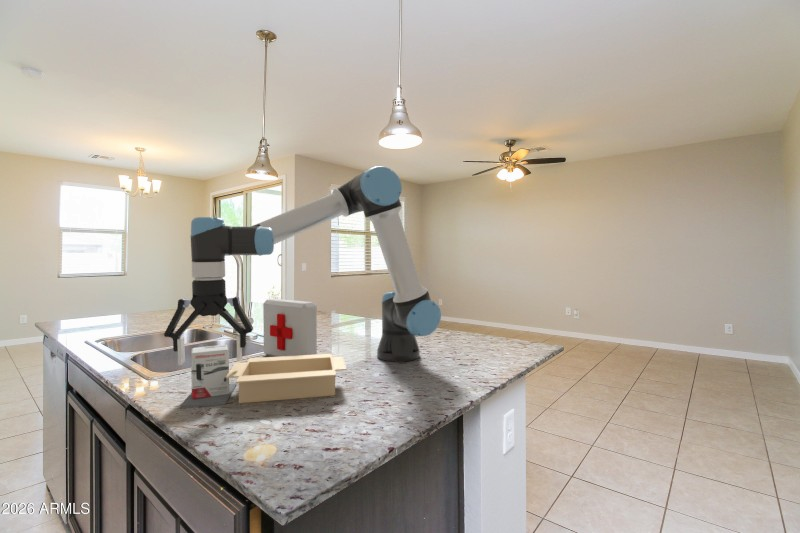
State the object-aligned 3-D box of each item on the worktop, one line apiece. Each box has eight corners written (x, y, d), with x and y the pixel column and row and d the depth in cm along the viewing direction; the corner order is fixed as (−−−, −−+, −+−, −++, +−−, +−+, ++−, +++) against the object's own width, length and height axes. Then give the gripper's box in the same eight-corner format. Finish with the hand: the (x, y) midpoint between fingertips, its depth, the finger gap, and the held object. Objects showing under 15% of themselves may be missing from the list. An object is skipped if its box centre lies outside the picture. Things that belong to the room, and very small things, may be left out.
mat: (236, 385, 104) (236, 383, 104) (226, 404, 91) (225, 401, 91) (196, 388, 101) (196, 386, 101) (180, 407, 89) (180, 405, 89)
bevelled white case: (259, 356, 133) (258, 300, 133) (277, 351, 140) (277, 298, 140) (301, 365, 122) (301, 304, 122) (318, 360, 129) (318, 302, 128)
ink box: (191, 400, 92) (190, 352, 91) (191, 393, 96) (191, 347, 96) (229, 394, 96) (229, 348, 95) (228, 388, 100) (227, 344, 100)
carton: (341, 374, 114) (341, 352, 114) (348, 399, 94) (348, 373, 94) (238, 381, 107) (238, 358, 107) (222, 410, 87) (221, 382, 87)
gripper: (262, 276, 102) (264, 354, 102) (159, 279, 96) (162, 361, 97) (259, 278, 94) (260, 362, 95) (147, 281, 89) (149, 370, 89)
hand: (211, 362), depth 96 cm, fingers open, 13 cm apart
